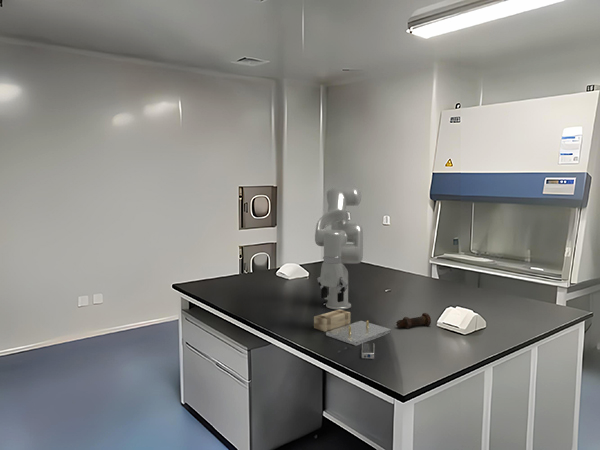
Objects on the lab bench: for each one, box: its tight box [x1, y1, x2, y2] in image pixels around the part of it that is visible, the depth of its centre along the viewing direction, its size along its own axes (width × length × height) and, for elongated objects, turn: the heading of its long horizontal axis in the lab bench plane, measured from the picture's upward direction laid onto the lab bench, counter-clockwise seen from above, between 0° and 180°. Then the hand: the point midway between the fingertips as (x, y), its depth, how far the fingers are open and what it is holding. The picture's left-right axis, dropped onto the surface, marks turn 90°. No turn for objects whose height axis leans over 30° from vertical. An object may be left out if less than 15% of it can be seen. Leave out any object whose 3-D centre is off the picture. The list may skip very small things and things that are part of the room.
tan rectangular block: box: [313, 309, 351, 333], centre depth 199 cm, size 6×16×5 cm, turn 132°
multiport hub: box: [361, 342, 375, 360], centre depth 168 cm, size 4×11×2 cm, turn 171°
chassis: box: [325, 319, 392, 347], centre depth 188 cm, size 16×22×4 cm
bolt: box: [395, 312, 432, 329], centre depth 197 cm, size 6×5×15 cm
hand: (332, 299), depth 197 cm, fingers open, 9 cm apart
